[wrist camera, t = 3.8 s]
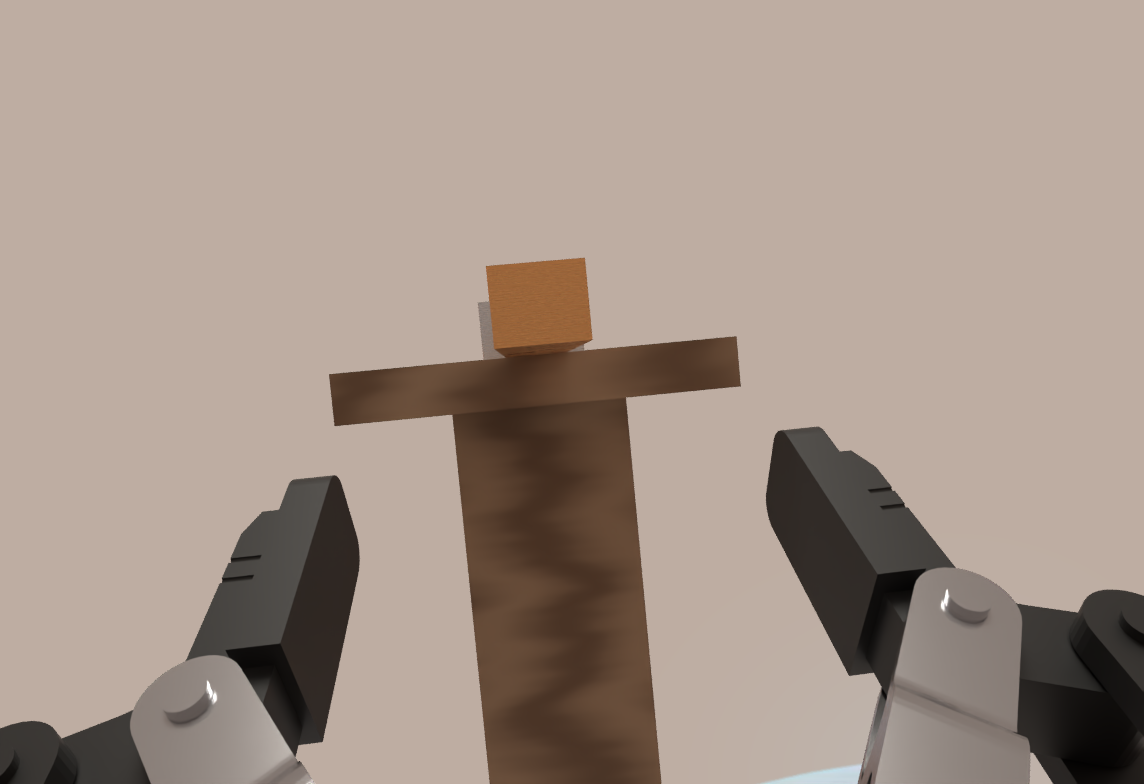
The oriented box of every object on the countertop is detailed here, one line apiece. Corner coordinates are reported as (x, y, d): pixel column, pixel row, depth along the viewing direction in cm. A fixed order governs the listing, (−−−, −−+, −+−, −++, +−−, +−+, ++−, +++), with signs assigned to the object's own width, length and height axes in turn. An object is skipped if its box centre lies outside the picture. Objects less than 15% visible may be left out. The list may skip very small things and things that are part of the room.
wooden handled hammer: (440, 354, 16) (427, 228, 16) (489, 364, 38) (484, 311, 38) (644, 334, 16) (633, 211, 16) (576, 356, 38) (572, 304, 38)
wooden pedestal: (414, 1169, 27) (328, 374, 26) (448, 924, 39) (391, 373, 38) (802, 1103, 28) (736, 336, 27) (719, 884, 40) (671, 347, 39)
